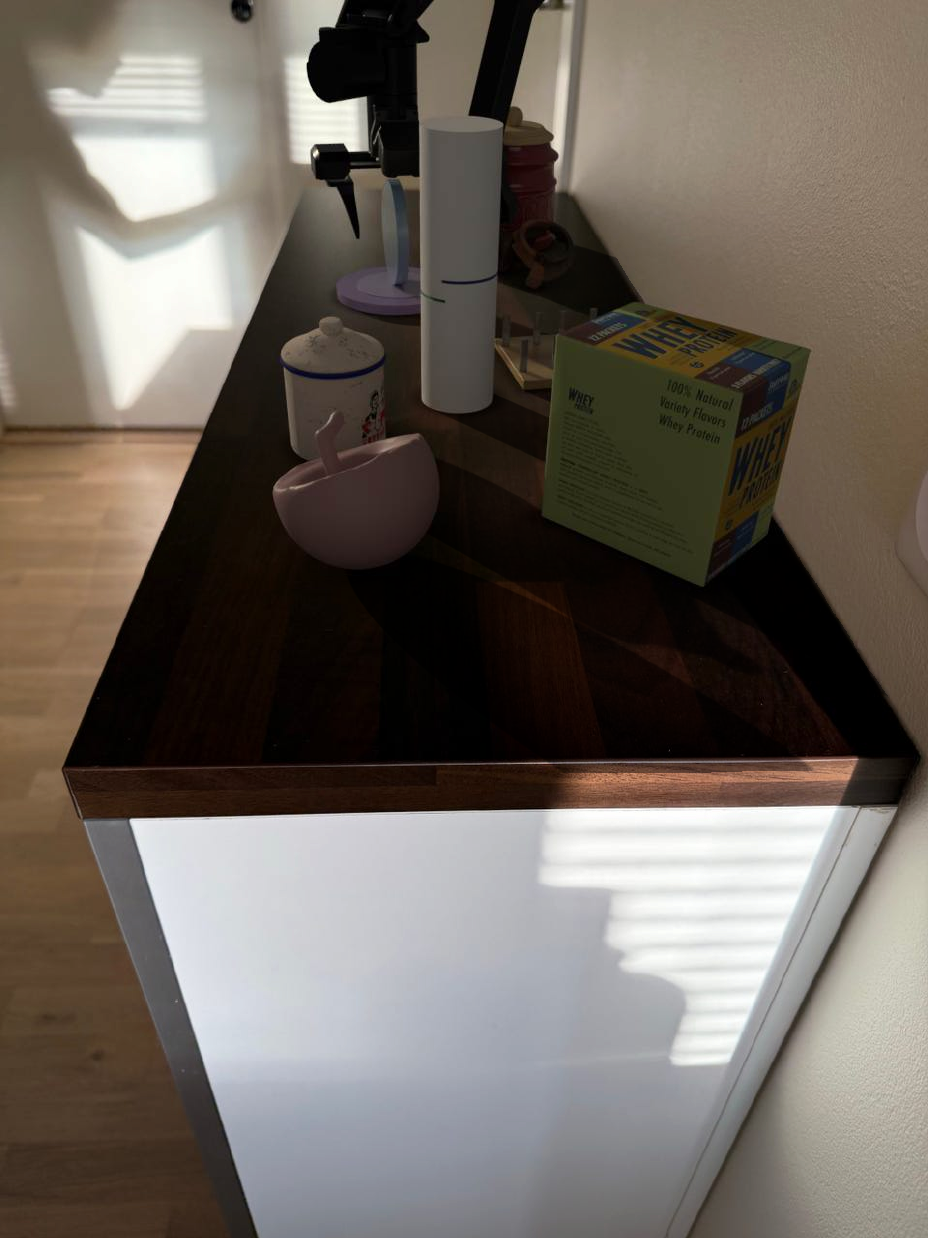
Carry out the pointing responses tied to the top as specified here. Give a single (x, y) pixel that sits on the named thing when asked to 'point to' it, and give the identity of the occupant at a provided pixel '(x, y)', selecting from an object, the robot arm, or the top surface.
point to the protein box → (669, 436)
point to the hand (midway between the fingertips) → (395, 236)
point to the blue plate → (395, 231)
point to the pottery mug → (534, 251)
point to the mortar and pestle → (360, 499)
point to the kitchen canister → (530, 172)
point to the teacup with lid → (334, 387)
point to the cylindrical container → (459, 259)
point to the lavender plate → (380, 292)
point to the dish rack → (532, 352)
